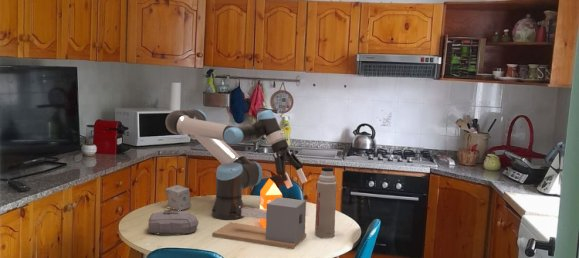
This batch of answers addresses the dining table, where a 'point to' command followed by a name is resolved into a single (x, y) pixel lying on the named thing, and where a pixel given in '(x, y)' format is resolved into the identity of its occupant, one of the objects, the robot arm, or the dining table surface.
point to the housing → (272, 225)
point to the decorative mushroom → (277, 181)
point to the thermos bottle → (325, 204)
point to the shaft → (250, 212)
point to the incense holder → (178, 197)
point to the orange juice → (268, 197)
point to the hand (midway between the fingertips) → (297, 184)
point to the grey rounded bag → (172, 222)
